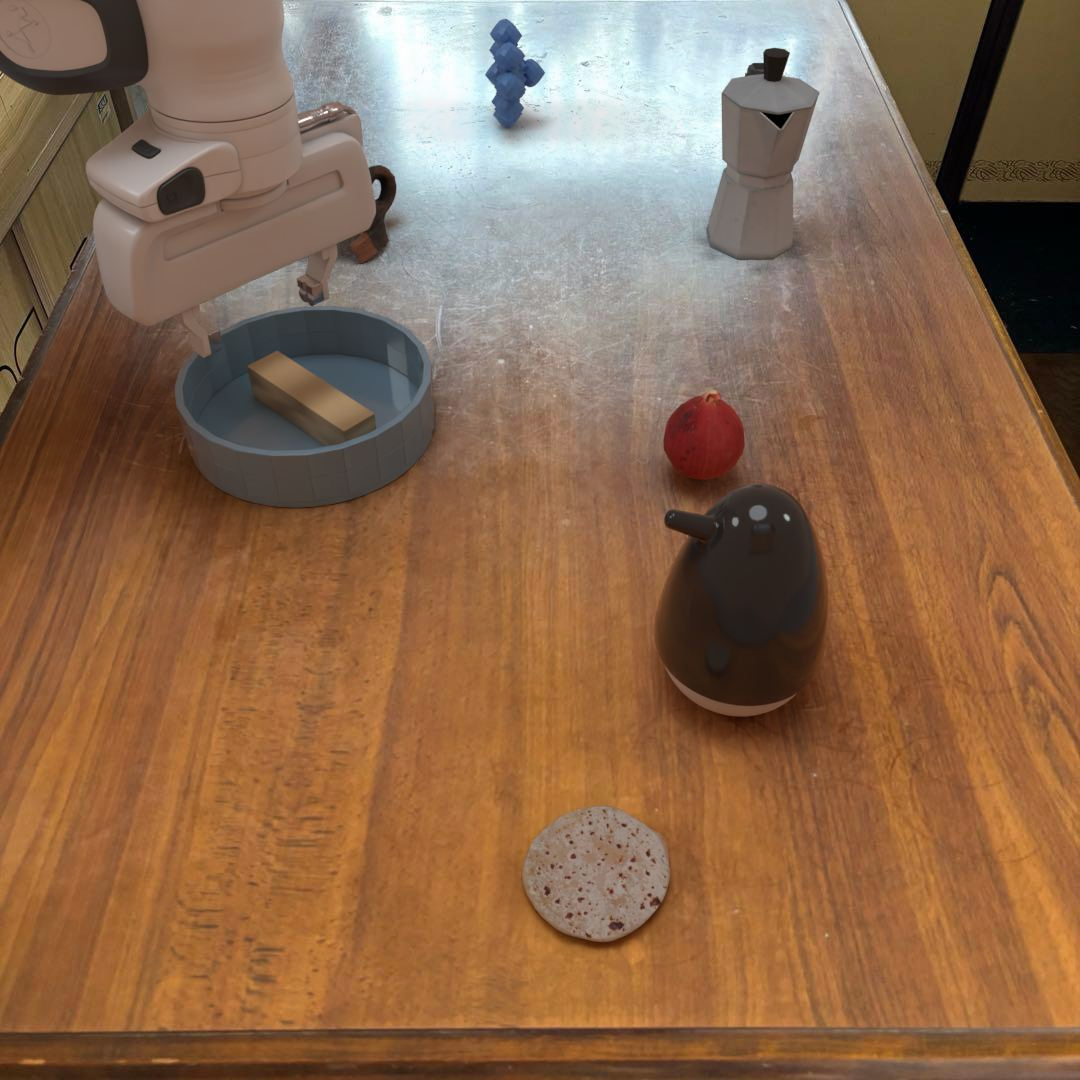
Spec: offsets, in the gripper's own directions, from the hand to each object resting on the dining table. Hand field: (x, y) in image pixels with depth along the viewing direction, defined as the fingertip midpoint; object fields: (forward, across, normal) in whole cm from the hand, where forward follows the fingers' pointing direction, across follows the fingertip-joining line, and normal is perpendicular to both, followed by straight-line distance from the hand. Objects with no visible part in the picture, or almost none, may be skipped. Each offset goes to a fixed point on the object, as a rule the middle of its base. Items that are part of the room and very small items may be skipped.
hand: (263, 324), depth 80 cm
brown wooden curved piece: (+10, -23, -20) cm, 32 cm away
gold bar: (+9, -2, +1) cm, 10 cm away
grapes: (+10, -53, -26) cm, 60 cm away
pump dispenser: (+10, -4, +40) cm, 41 cm away
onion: (+10, -18, +27) cm, 34 cm away
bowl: (+10, -2, +1) cm, 10 cm away
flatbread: (+10, +12, +43) cm, 46 cm away
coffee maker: (+9, -51, +8) cm, 53 cm away
